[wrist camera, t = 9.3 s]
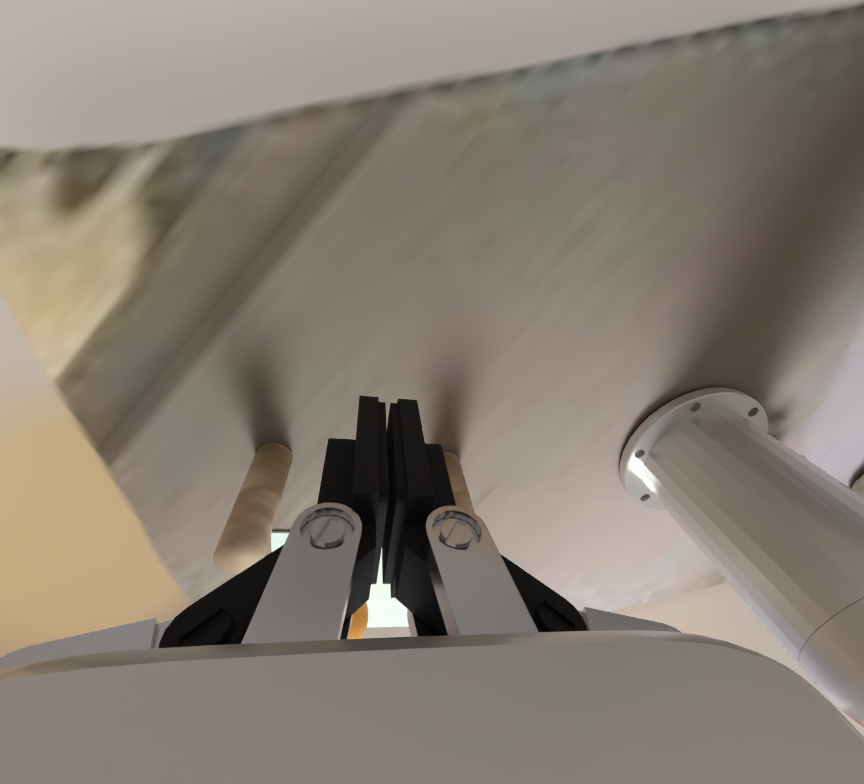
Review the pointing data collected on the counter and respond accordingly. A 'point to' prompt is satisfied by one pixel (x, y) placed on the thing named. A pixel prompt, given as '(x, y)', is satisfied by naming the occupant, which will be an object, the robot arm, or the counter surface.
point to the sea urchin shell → (859, 486)
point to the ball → (359, 622)
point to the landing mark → (380, 602)
